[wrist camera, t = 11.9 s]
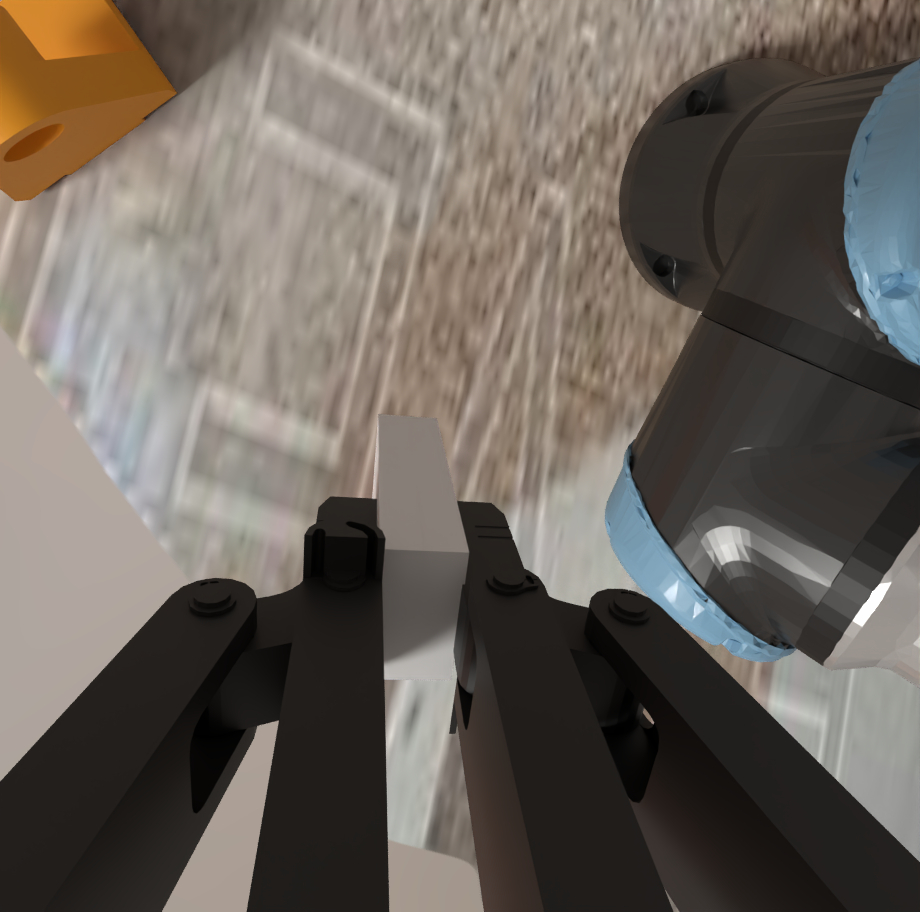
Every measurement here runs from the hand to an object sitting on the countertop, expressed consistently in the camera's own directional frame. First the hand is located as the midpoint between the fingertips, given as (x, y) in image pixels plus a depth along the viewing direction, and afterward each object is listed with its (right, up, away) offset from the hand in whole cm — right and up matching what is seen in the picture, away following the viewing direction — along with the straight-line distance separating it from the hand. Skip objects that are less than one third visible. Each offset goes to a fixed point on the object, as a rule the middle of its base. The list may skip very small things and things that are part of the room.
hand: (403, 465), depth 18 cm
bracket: (-21, +21, +21) cm, 36 cm away
